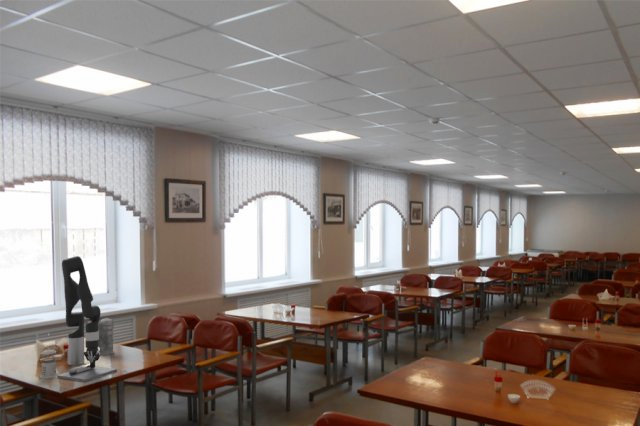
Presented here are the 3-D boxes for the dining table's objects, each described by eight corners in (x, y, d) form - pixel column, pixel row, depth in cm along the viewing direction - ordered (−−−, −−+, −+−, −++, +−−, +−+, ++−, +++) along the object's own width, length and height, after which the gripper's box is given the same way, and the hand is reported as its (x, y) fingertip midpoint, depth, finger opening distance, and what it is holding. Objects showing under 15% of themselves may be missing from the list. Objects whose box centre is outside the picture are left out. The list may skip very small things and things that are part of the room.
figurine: (110, 350, 361) (109, 315, 362) (115, 354, 349) (115, 318, 350) (95, 353, 355) (95, 317, 356) (100, 356, 344) (100, 319, 344)
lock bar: (72, 374, 293) (72, 370, 293) (67, 373, 295) (67, 369, 295) (95, 367, 307) (95, 363, 308) (91, 366, 309) (91, 363, 309)
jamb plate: (57, 377, 294) (57, 370, 294) (90, 367, 315) (89, 360, 315) (85, 381, 285) (85, 373, 285) (117, 371, 306) (116, 363, 306)
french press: (40, 379, 293) (40, 335, 294) (38, 374, 302) (37, 332, 303) (59, 375, 299) (59, 333, 299) (56, 371, 308) (56, 330, 309)
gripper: (79, 339, 304) (79, 368, 304) (94, 340, 299) (95, 370, 298) (89, 337, 311) (90, 365, 310) (105, 338, 306) (105, 367, 305)
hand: (92, 368), depth 304 cm, fingers closed
